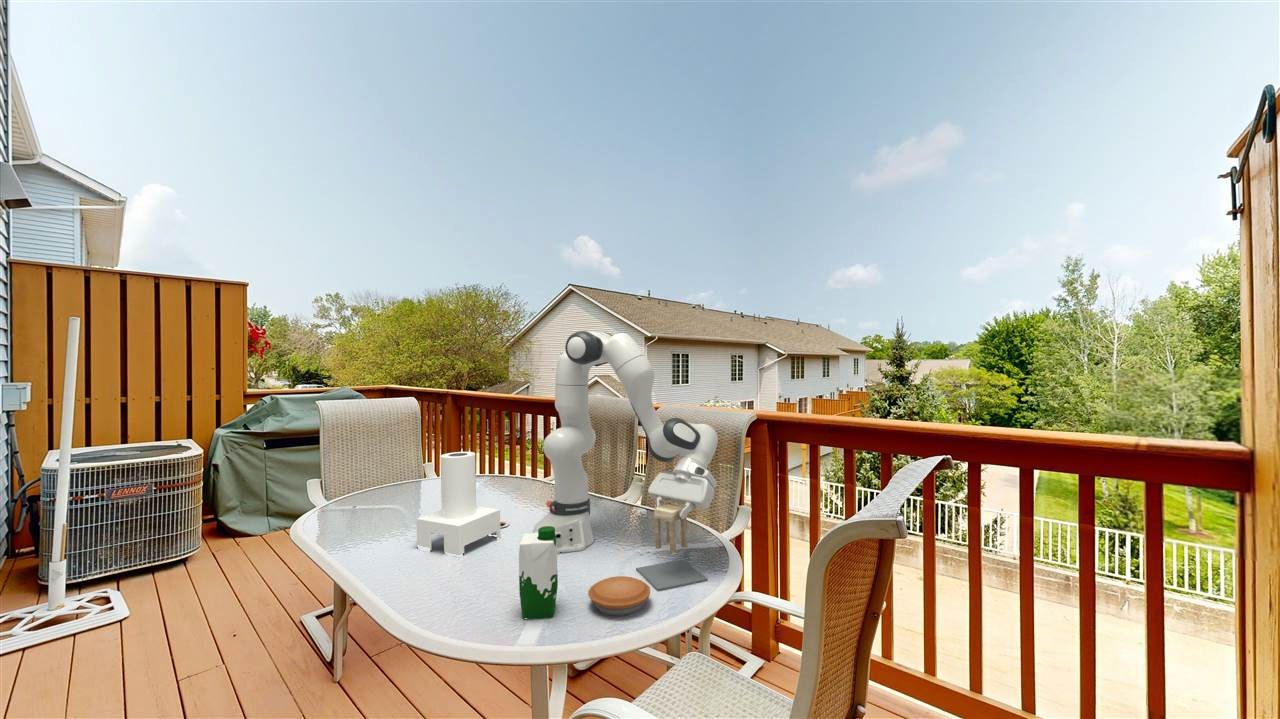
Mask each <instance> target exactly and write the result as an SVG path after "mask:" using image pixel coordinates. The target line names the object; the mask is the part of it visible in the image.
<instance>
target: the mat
mask: <svg viewBox="0 0 1280 719" xmlns="http://www.w3.org/2000/svg"><path fill="white" fill-rule="evenodd" d="M635 570H636V572H637V573H638V574H639V575H640V576H641V577H642V578H644V579H645V581H646V582H647V583H649V585H651V586H652V587H653V588H654V590H656V592H660V591H661V592H662V591H667V590H672V589H675V588H679V587H686V586H689V585H696V584H699V583H705V582H708V580H709V578H708V577H706V576H705V575H704V574H703V573H701V572H700V571H699V570H697V569H696V568H695V567H693V566H692V565H691V564H689V563H688V562H687V561H686V560H684V559H676V560H672V561H665V562H661V563H654V564H650V565H645V566H640V567H639V566H638V567H636V568H635Z"/></svg>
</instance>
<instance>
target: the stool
mask: <svg viewBox="0 0 1280 719" xmlns="http://www.w3.org/2000/svg"><path fill="white" fill-rule="evenodd" d="M684 507H685V506H683V505H682V506H681V505H678V504H671V503H666V504H663V505H662V506H661V507H658V508H654V509H653V510H654V512H653V513H654V514H653V515H654V519H653V520H654V545H655V549H656V550H660V549H662V525H661V524H662V523H661V521H666V522H665V524H666V543H667V544H669V553H671V554H675V553H677V537H676V533H677V530H676V521H678V520H680V542H681V548H687V547H688V528H687V527H688V522H687V521H688V520H687V515H686V516H685V518H684V519H680V518H679V517H677V514H678V512H679V510H682V509H683V508H684Z"/></svg>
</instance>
